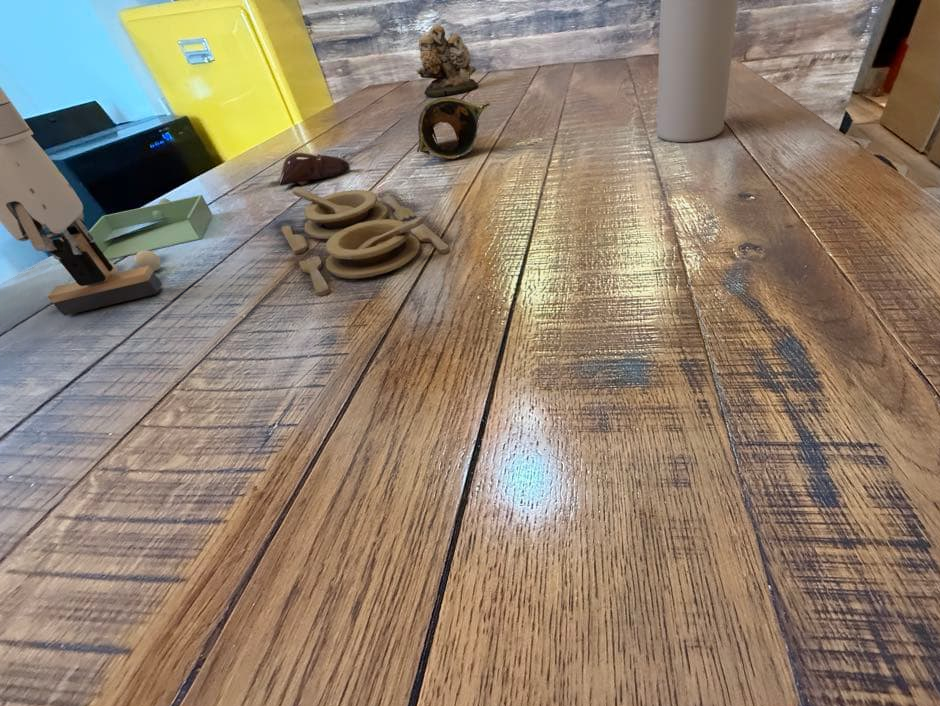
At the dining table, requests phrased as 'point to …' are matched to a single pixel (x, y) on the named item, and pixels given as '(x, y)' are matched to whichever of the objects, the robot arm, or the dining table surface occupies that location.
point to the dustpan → (153, 227)
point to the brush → (104, 286)
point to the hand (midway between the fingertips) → (96, 276)
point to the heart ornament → (310, 168)
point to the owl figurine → (445, 64)
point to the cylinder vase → (694, 67)
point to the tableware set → (358, 235)
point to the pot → (455, 114)
